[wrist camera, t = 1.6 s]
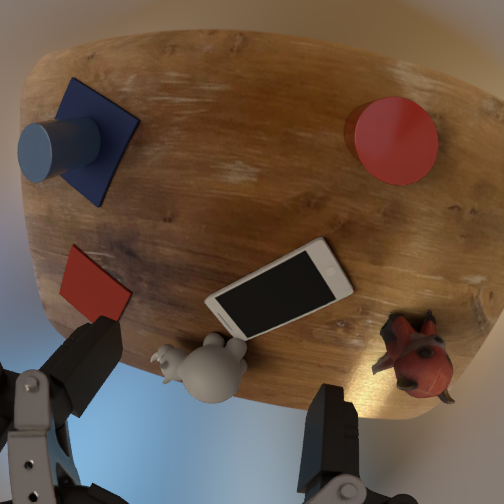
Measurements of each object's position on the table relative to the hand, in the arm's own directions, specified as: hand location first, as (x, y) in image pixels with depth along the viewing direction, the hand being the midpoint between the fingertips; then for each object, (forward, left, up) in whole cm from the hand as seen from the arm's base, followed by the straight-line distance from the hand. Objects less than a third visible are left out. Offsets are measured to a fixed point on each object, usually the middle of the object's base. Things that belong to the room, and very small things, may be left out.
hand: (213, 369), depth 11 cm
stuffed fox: (+21, -3, -22) cm, 30 cm away
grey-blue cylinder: (-23, -7, -21) cm, 32 cm away
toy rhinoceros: (+4, -21, -22) cm, 30 cm away
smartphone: (+6, -8, -21) cm, 24 cm away
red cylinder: (+3, +11, -21) cm, 24 cm away
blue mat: (-23, -7, -21) cm, 32 cm away
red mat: (-14, -27, -21) cm, 37 cm away
